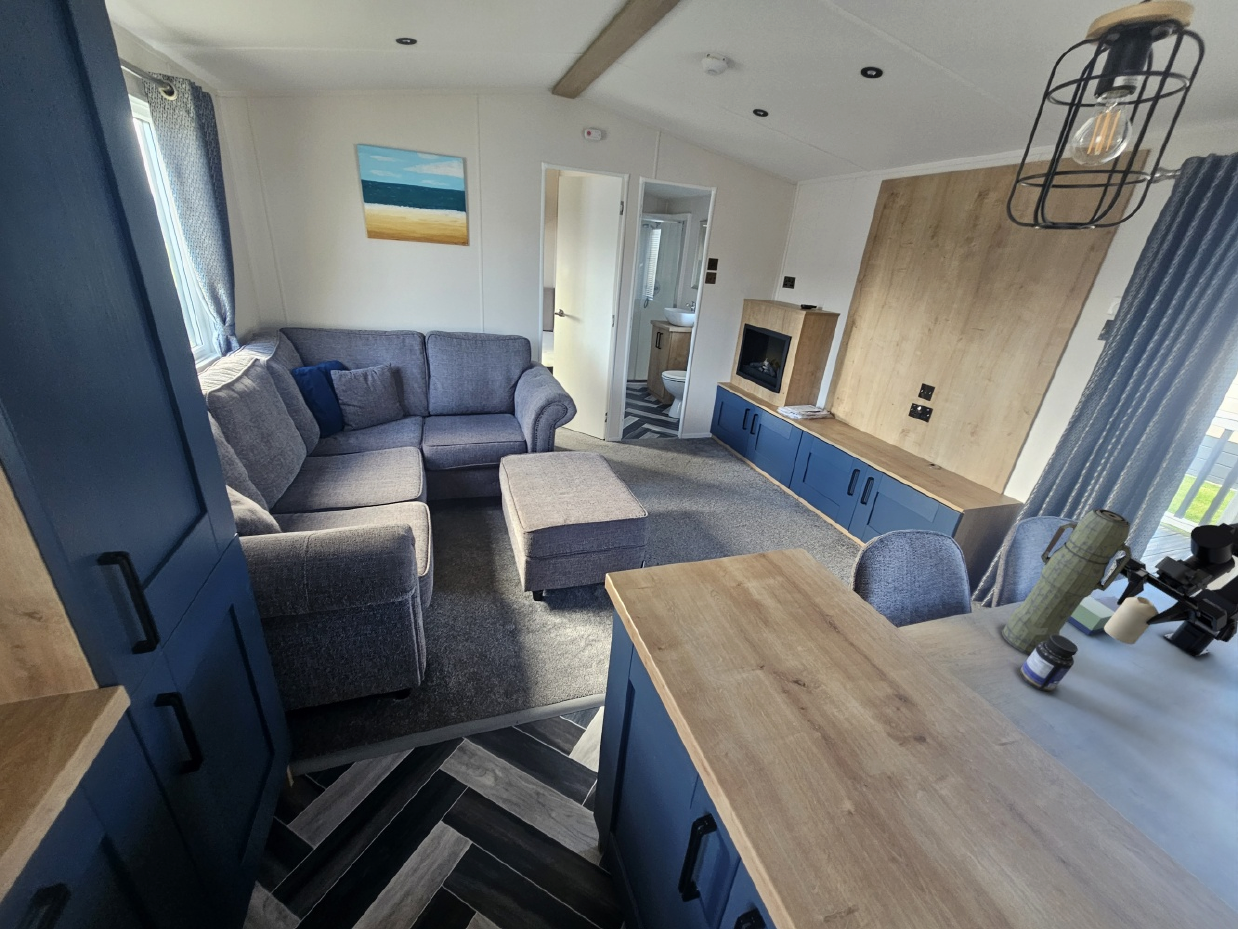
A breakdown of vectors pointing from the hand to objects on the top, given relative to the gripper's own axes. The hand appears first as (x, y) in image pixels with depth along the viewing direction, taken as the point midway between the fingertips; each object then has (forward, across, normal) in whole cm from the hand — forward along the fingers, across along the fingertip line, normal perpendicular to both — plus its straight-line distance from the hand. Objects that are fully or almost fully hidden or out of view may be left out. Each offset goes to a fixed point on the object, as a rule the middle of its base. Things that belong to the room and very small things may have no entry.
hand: (1132, 613), depth 111 cm
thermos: (+20, -7, -1) cm, 21 cm away
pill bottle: (+26, +3, -7) cm, 27 cm away
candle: (+4, 0, +6) cm, 7 cm away
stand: (-3, -11, +22) cm, 25 cm away
